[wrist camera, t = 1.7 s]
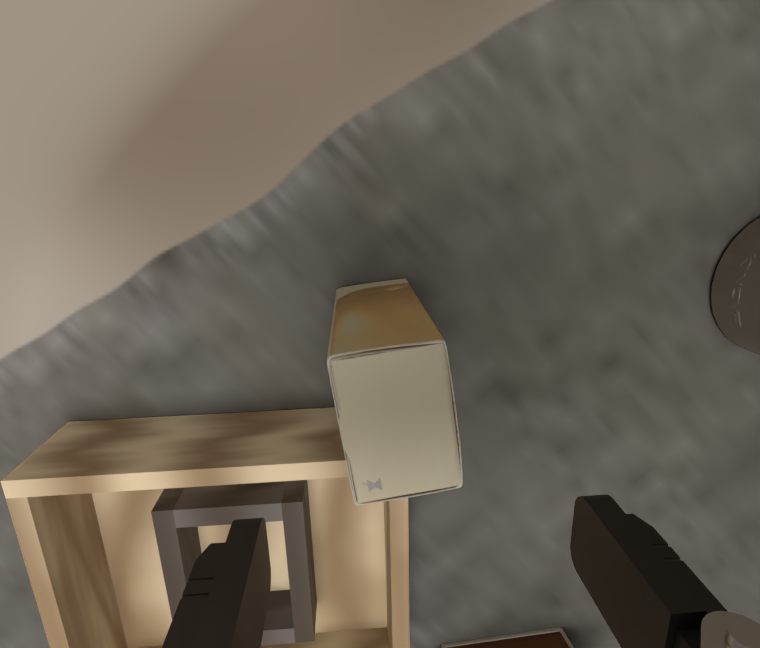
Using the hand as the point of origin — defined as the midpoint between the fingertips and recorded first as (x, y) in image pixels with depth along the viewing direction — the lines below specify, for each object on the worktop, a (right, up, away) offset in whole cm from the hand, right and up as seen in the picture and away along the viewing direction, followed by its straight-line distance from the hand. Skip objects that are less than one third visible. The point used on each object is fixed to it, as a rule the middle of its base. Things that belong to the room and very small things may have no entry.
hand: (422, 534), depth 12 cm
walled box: (-10, -9, +20) cm, 24 cm away
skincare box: (-1, +5, +17) cm, 18 cm away
